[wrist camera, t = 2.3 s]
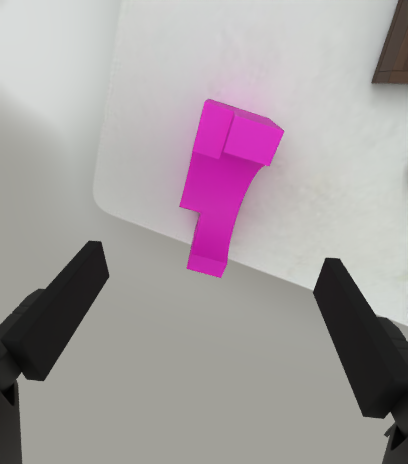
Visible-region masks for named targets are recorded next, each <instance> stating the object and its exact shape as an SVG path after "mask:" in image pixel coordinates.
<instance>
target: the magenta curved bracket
mask: <svg viewBox="0 0 408 464" xmlns="http://www.w3.org/2000/svg"><path fill="white" fill-rule="evenodd" d="M283 133H284V130H282V129H281V128H280V127H279V126H277V125H276V124H275V123H274V122H273V121H271V120H270V119H269V118H266V117H263V116H260V115H257V114H253V113H250V112H247V111H244V110H241V109H238V108H235V107H232V106H229V105H226V104H223V103H220V102H217V101H214V100H211V99H208V100H206V101H205V103H204V107H203V111H202V115H201V119H200V123H199V127H198V131H197V135H196V139H195V143H194V147H193V151H192V157H191V162H190V166H189V171H188V175H187V179H186V183H185V187H184V191H183V195H182V199H181V202H180V206H179V207H182V208H186V209H189V210H193V211H196V212H200V215H199V219H198V222H197V225H196V228H195V232H194V237H193V241H192V246H191V250H190V255H189V260H188V265H187V269H190V270H193V271H197V272H201V273H205V274H208V275H212V276H216V277H219V278H221V277H222V274H223V272H224V269H225V268H226V265H227V259H228V251H229V245H230V240H231V235H232V231H233V227H234V224H235V220H236V217H237V214H238V211H239V208H240V206H241V203H242V200H243V198H244V196H245V193H246V191H247V189H248V187H249V185H250V183H251V181H252V179H253V178H254V176H255V175H256V173H257V172H258V171H259V170H260V169H261V168H262V167H263V166H265V165H266V166H270V163H271V161H272V159H273V156H274V154H275V152H276V149H277V147H278V145H279V142H280V140H281V138H282V136H283Z"/></svg>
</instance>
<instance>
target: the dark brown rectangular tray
mask: <svg viewBox="0 0 408 464" xmlns="http://www.w3.org/2000/svg"><path fill="white" fill-rule="evenodd" d="M372 83H391V84H408V0H399V2H398V5H397V8H396V11H395V14H394V17H393V20H392V23H391V26H390V29H389V32H388V35H387V38H386V41H385V44H384V47H383V50H382V53H381V56H380V59H379V62H378V65H377V68H376V71H375V74H374V77H373V80H372Z"/></svg>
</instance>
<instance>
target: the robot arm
mask: <svg viewBox="0 0 408 464" xmlns="http://www.w3.org/2000/svg"><path fill="white" fill-rule="evenodd" d="M108 278H109V272H108V268H107V264H106V260H105V255H104V251H103V247H102V243H101V242H100V241H88V242H87V243H86V244H85V246H84V247H83V248H82V249H81V250H80V251H79V252H78V253H77V254H76V256H75V257H74V258H73V259H72V260H71V261H70V262H69V263H68V264H67V266H66V267H65V268H64V269H63V270H62V271H61V272H60V273H59V274H58V276H57V277H56V278H55V279H54V280H53V281H52V283H50V284H49V286H48V287H47V288H46V289H38V290H36V291H35V292H33V293H31V294H30V295H29V296H27V297H26V298H25V299H24V300H23V301H22V302H21V303H20V305H19V306H18V307H17V308H16V309H15V310H14V311H13V313H12V314H10V315H9V316H8V317H7V318H6V319H5V320H4V321H3V323H1V324H0V464H22V452H21V432H20V412H19V393H18V383H17V380H16V379H17V378H18V376H19V375H20V374H21V372H22V373H23V375H24V376H25V378H26V379H27V380H37V381H44V380H45V379H46V377H47V375H48V374H49V372H50V370H51V369H52V367H53V366H54V364H55V362H56V361H57V359H58V357H59V356H60V355H61V353H62V351H63V350H64V348H65V347H66V345H67V343H68V342H69V340H70V339H71V337H72V335H73V334H74V332H75V331H76V329H77V327H78V326H79V324H80V323H81V321H82V319H83V318H84V316H85V315H86V313H87V311H88V310H89V308H90V307H91V305H92V303H93V302H94V300H95V299H96V297H97V295H98V294H99V292H100V291H101V289H102V287H103V286H104V284H105V283H106V281H107V279H108ZM313 294H314V296H315V299H316V301H317V304H318V306H319V309H320V311H321V314H322V316H323V318H324V321H325V323H326V326H327V329H328V331H329V333H330V336H331V338H332V341H333V343H334V345H335V348H336V351H337V353H338V355H339V358H340V361H341V363H342V365H343V367H344V370H345V373H346V375H347V378H348V380H349V383H350V385H351V388H352V390H353V393H354V395H355V397H356V400H357V402H358V405H359V407H360V410H361V412H362V415H363V417H372V418H382V419H384V418H385V417H386V415H388V413H389V412H391V414H392V416H393V418H394V420H395V423H394V424H393V425H392V426H391V427H390V428H389V429H388V430H387V431H386V433H385V434H384V435H385V436H386V437H388V436H389V435H390V437H389V441H388V444H387V448H386V451H385V455H384V458H383V462H382V464H408V342H407V341H406V338H405V337H404V335H403V334H402V332H401V331H400V330H399V328H398V327H397V326H395V325H394V324H393V323H392V322H391V321H390V320H389V319H388V318H383V317H377V316H376V315H375V313H374V312H373V310H372V309H371V307H370V305H369V304H368V302H367V301H366V299H365V298H364V296H363V294H362V293H361V291H360V290H359V288H358V287H357V285H356V284H355V282H354V280H353V279H352V277H351V276H350V274H349V273H348V271H347V269H346V268H345V266H344V265H343V263H342V262H341V260H340V259H338V258H325V261H324V264H323V266H322V269H321V272H320V275H319V277H318V280H317V283H316V286H315V288H314V291H313Z"/></svg>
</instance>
